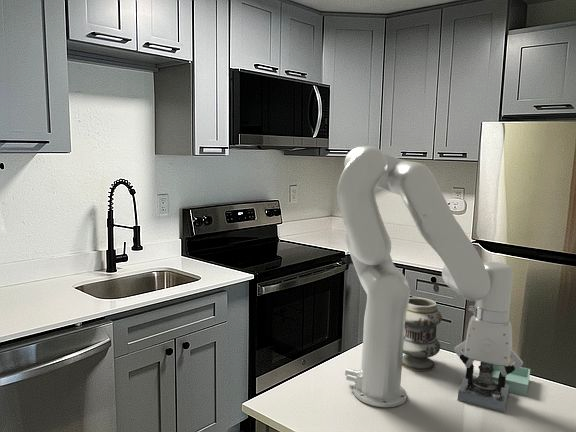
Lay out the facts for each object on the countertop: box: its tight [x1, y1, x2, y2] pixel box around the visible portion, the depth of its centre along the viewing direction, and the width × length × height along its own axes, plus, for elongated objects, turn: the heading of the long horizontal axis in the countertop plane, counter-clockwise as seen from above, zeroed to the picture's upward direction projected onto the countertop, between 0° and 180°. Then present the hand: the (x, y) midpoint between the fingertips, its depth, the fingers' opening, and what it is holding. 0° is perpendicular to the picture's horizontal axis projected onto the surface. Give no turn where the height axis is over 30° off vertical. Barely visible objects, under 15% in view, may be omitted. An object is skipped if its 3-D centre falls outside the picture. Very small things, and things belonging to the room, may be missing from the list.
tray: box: [492, 363, 531, 397], centre depth 129 cm, size 10×10×3 cm
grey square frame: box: [457, 373, 510, 413], centre depth 121 cm, size 10×10×2 cm
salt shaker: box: [472, 362, 498, 397], centre depth 120 cm, size 6×6×12 cm
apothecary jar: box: [402, 297, 443, 372], centre depth 137 cm, size 12×12×18 cm
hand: (484, 385), depth 120 cm, fingers open, 6 cm apart
